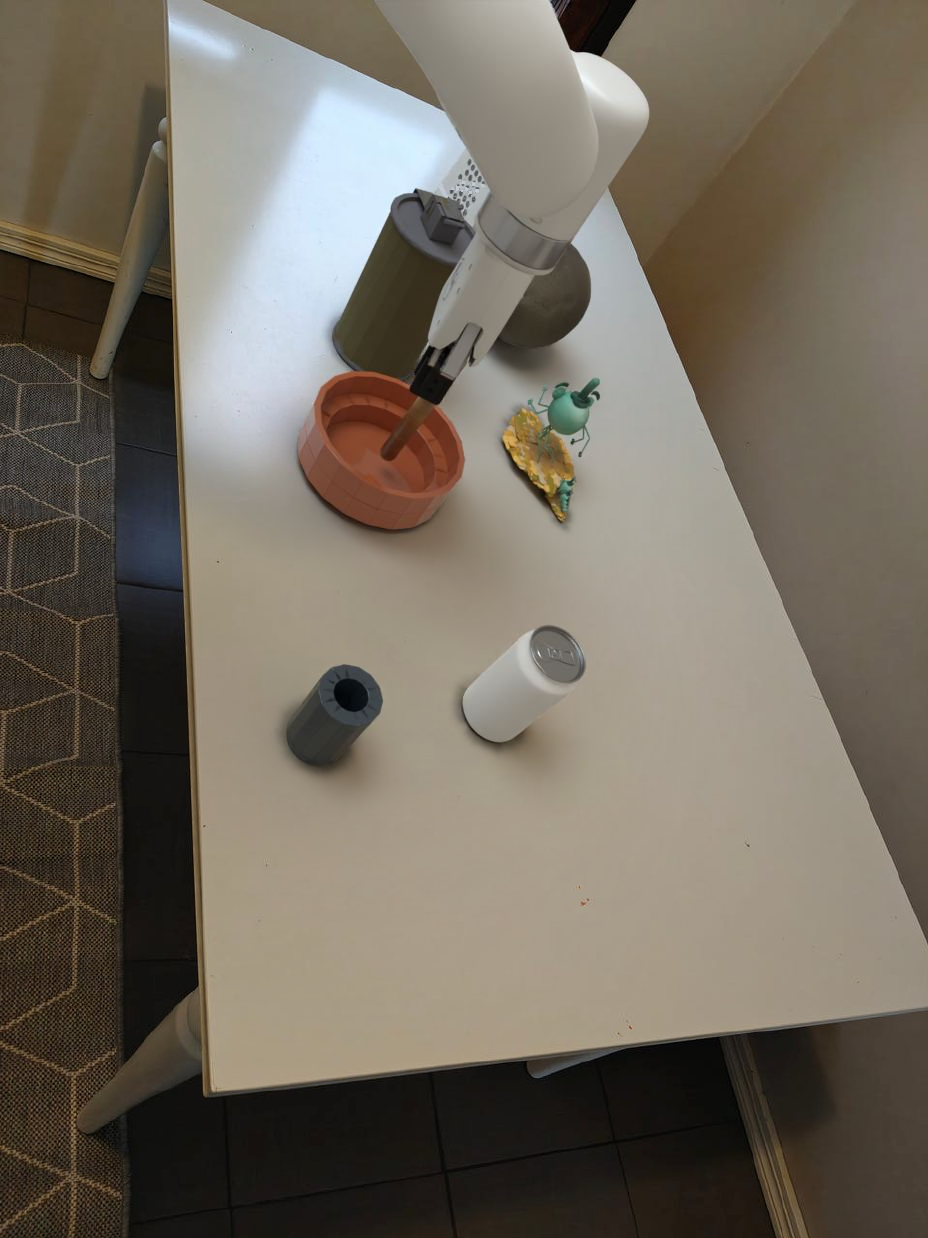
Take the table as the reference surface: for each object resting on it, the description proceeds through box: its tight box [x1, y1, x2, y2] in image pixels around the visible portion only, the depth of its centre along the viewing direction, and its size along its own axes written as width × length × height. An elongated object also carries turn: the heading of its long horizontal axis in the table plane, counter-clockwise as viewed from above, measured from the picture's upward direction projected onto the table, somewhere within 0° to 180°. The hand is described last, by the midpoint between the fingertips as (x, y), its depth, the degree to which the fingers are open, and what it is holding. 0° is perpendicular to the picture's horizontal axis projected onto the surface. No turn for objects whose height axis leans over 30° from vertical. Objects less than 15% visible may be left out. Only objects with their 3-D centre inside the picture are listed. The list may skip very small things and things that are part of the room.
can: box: [462, 624, 587, 743], centre depth 77 cm, size 6×6×12 cm
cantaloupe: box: [497, 242, 592, 349], centre depth 110 cm, size 14×14×15 cm
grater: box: [433, 148, 490, 233], centre depth 121 cm, size 10×10×20 cm
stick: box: [380, 358, 469, 461], centre depth 83 cm, size 2×2×16 cm
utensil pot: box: [286, 663, 384, 766], centre depth 68 cm, size 5×5×8 cm
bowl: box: [297, 370, 466, 530], centre depth 88 cm, size 16×16×6 cm
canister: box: [331, 187, 476, 382], centre depth 94 cm, size 11×10×20 cm
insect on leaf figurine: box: [501, 377, 601, 522], centre depth 100 cm, size 10×18×15 cm, turn 5°
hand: (426, 387), depth 81 cm, fingers closed on stick, 1 cm apart
